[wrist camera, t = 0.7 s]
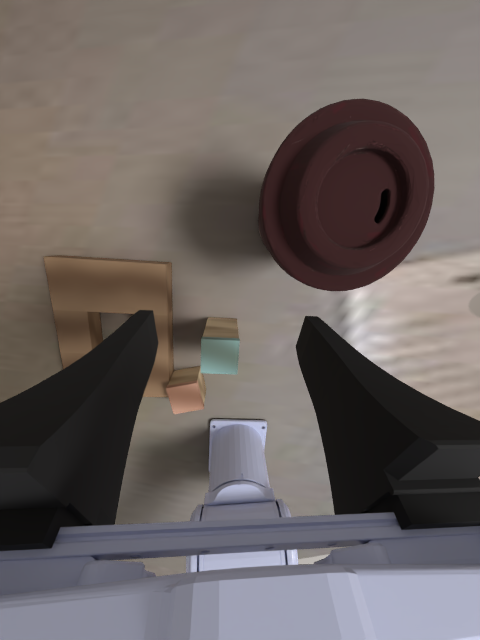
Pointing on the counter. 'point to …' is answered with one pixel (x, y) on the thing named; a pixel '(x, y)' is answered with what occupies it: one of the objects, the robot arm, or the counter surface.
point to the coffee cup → (346, 195)
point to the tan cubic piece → (186, 390)
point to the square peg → (220, 346)
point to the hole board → (110, 305)
